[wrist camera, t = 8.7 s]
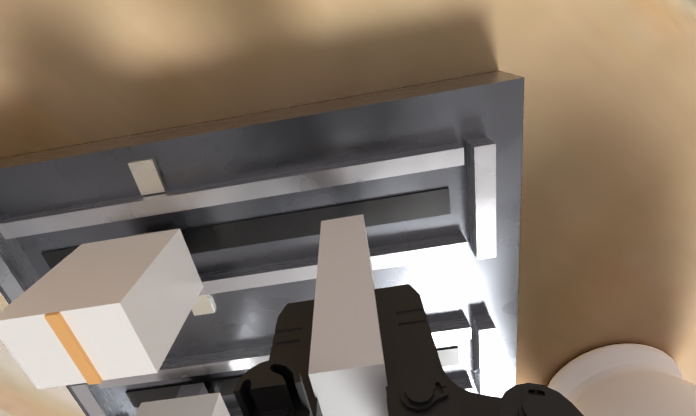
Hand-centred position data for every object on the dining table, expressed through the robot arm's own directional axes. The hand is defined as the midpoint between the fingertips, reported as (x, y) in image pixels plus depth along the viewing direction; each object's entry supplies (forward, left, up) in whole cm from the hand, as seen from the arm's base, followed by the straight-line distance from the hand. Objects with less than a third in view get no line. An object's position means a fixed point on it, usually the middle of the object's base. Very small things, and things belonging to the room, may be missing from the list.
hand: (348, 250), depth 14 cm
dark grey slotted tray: (-5, -5, -5) cm, 8 cm away
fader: (-8, 0, -2) cm, 9 cm away
